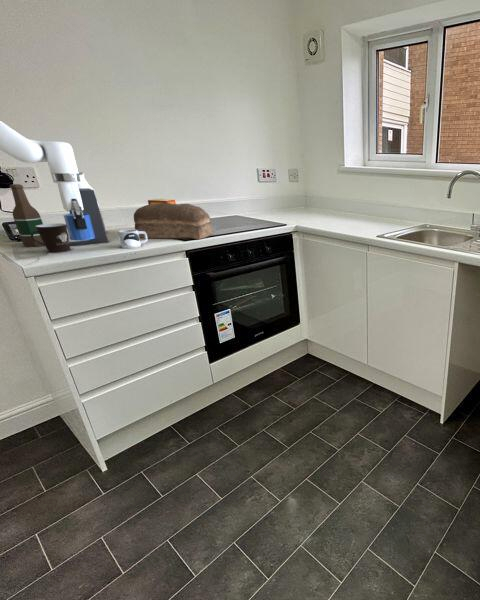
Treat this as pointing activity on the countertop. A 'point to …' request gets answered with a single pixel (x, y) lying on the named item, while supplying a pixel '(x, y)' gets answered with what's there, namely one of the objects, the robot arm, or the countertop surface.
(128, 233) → the mug
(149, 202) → the baking soda box
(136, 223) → the bread
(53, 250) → the coffee mug
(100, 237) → the dark grey upright panel
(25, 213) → the beer bottle
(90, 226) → the blue cup
